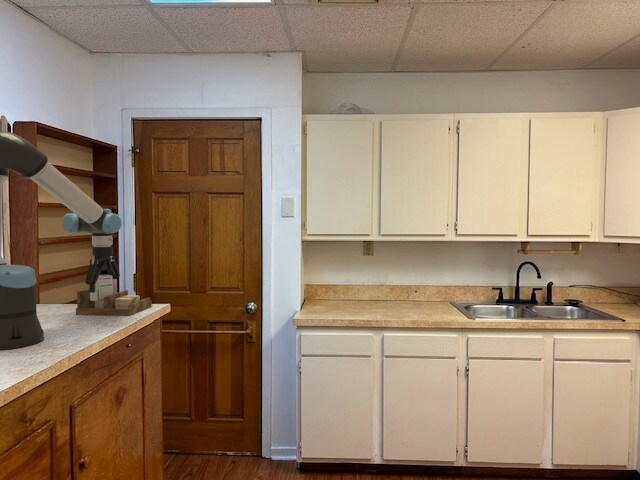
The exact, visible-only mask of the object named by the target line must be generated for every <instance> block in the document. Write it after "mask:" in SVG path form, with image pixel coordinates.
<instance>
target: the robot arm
mask: <svg viewBox="0 0 640 480" xmlns="http://www.w3.org/2000/svg"><path fill="white" fill-rule="evenodd" d="M10 171H12V172H14V173H16V174H18V175H19V176H20V177H22V178H23V179H26V180H29V179H30V180H32V181H33V182H34V183H35V184H37V185H38V186H39V187H40V188H42V189H43V190H44V191H46V192H47V193H48V194H49V195H51V196H52V197H53V198H54V199H55V200H57V201H58V202H60V203H61V204H62V205H64V206H65V207H67V208H68V209H69V211H71V212H72V213H71V212H70V213H66V214H64V216H63V217H62V219H61V227H62V229H63V230H64V232H66V233H68V234H86V233H87V234H91V245H92V246H93V247H92V249H91V250H92V256H93V257H95V258H93V259H92V258H91V259H90V260H89V266H88V270H87V273H86V278H85V282H84V283H85V284H86V285H88V286H89V288H90V301H97V300H98V293H97V284H96V282H97V279H98V277H99V275H101V273H102V271H103V270H105V271H106V272H107V275H111V276H112V281H113V294H115V293H118V290H117V289H118V288H117V287H118V286H117V283H118V281H117V279H120V276H121V274H120V271H119V267H118V264H117V262H116V257H115V256H114V247H113V243H114V242H113V234H116V233H117V232H120V231H119V230H120V229H121V228H122V224H123V223H122V218H121V217H120V215H119V214H116V213H113V212H112V210H111V209H110V208H103V207H102V206H101V205H100V204H98V203H97V202H96V201H94V200H93V199H92V198H91V197H90V196H89V195H87V194H86V193H85V192H84V191H83V190H81V188H79V187H78V186H77V185H76V184H75V183H73V182H72V181H71V180H70V179H69V178H68V177H66V176H65V175H64V174H63V173H62V172H60V170H58V169H57V168H56V167H55V166H53V164H52V163H50V162H49V157H48V156H47V155H46V154H45V153H44V152H42V151H41V150H40V149H39V148H38V147H36V146H35V145H33V144H32V143H31V142H30V141H28V140H26V139H25V138H23V137H21V136H19V135H18V134H15V133H13V132H10V131H7V130H6V131H5V130H0V351H1V350H10V349H19V348H23V347H28V346H32V345H35V344H38V343H40V342H42V341H43V340H44V339H45V332H44V329H43V328H42V325H41V322H40V320H39V317H38V315H37V277H36V271H35V269H34V268H32V267H31V266H28V265H24V264H23V265H22V264H8V261H7V260H6V259H5V258H3V257H2V248H3V247H2V243H3V242H2V241H3V239H2V238H3V237H2V236H3V227H2V226H3V191H4V190H3V187H4V186H3V184H4V182H6V181H7V180H8V179H9V177H10V176H9V175H10V174H9V173H10ZM89 288H88V289H89Z"/></svg>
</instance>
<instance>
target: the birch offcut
mask: <svg viewBox="0 0 640 480" xmlns="http://www.w3.org/2000/svg"><path fill="white" fill-rule="evenodd" d="M140 296H141V295H129V294H128V295H126V296H123V297H119V298H116V299H115V306H122V307H128V305H130V304H133V303H135V302H138V301H140V300H141V297H140Z"/></svg>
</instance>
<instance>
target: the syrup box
mask: <svg viewBox="0 0 640 480" xmlns="http://www.w3.org/2000/svg"><path fill="white" fill-rule="evenodd" d="M96 284H97V293H98V300H97V301H95V308H104V297H106V296H109V295H112V294H113V281H112V276H111V275H109V274H100V275H99V277H98V279H97V282H96Z"/></svg>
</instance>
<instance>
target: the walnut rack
mask: <svg viewBox="0 0 640 480" xmlns="http://www.w3.org/2000/svg"><path fill="white" fill-rule="evenodd" d="M126 295H129V290H128V289H126V290H123V291H122V290H121V291H120V292H119V291H118V292H117V293H115V294H112V295H109V296H106V297H104V308H95V301H90V288H85V289H82V290H78V291H76V298H77V299H76V300H77V306H76V308H75V315H76V316H77V315H81V316H82V315H83V316H116V317H117V316H118V317H120V316H121V317H130V316H132V315H135V314H137V313H139V312H142V311H144V310H147V309H149V308H151V307H153V304H152V300H151V297H145V298H144V299H140V301H138V302H135V303H133V304H130V305H128V309H116V307H115V299H116V298H119V297H123V296H126Z"/></svg>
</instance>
